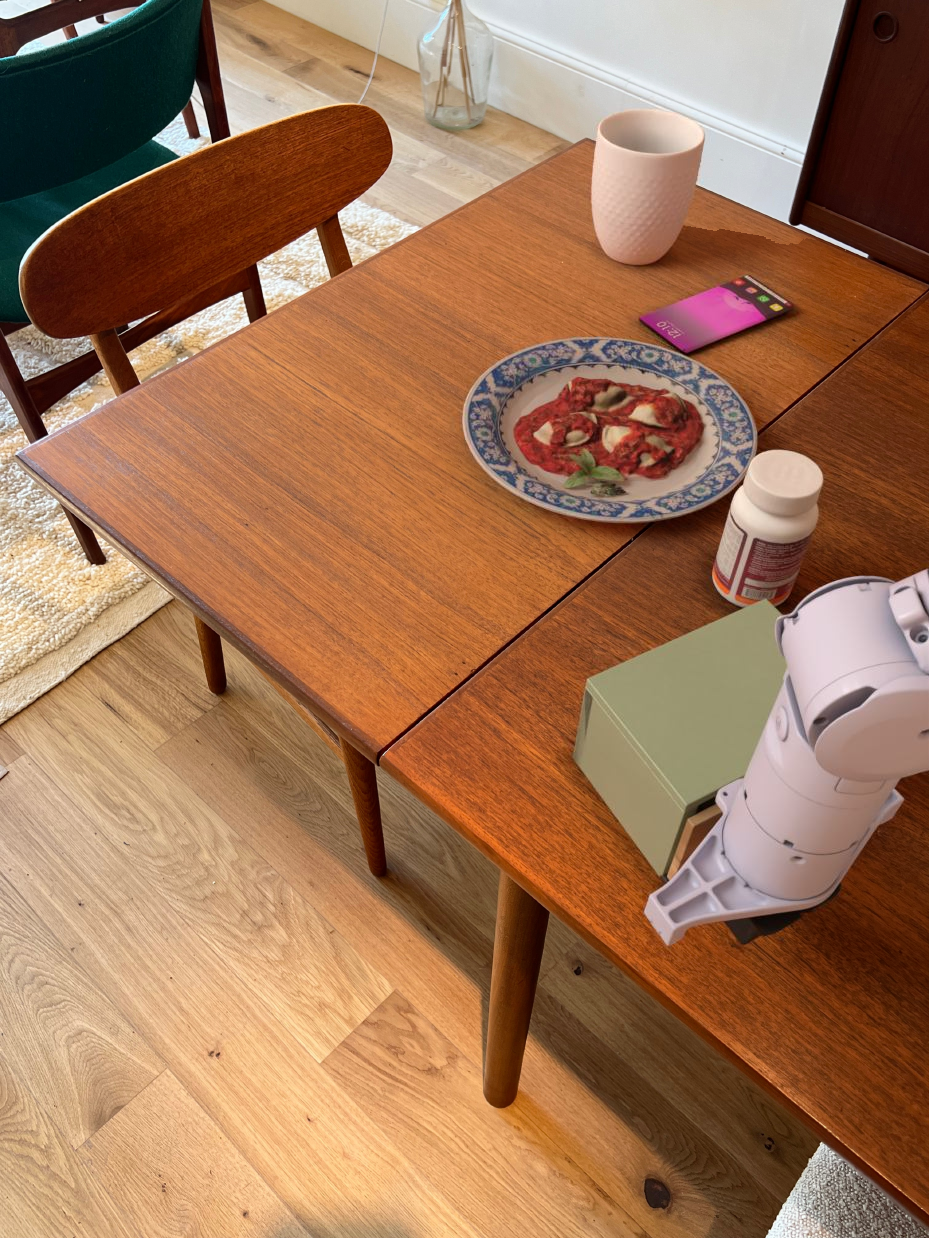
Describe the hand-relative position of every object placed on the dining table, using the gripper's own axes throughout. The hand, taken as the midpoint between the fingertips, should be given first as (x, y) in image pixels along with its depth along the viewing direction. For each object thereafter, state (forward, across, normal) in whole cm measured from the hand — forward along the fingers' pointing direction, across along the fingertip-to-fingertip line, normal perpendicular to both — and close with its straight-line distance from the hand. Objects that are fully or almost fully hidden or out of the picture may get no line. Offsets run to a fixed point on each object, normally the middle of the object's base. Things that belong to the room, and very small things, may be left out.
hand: (740, 924), depth 56 cm
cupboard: (+4, -6, -10) cm, 13 cm away
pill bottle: (+4, -20, -22) cm, 31 cm away
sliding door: (+3, -3, -2) cm, 5 cm away
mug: (+4, -42, -70) cm, 81 cm away
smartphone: (+4, -41, -54) cm, 68 cm away
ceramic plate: (+4, -20, -42) cm, 47 cm away
